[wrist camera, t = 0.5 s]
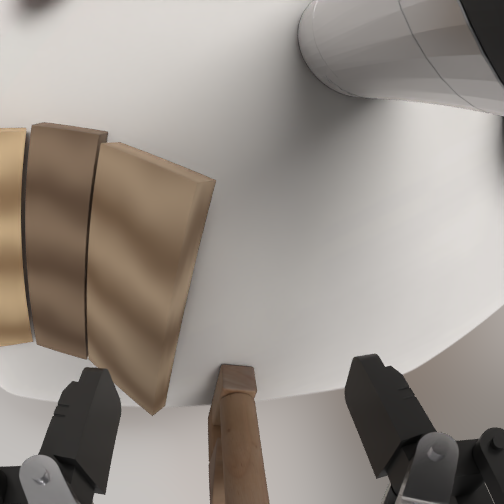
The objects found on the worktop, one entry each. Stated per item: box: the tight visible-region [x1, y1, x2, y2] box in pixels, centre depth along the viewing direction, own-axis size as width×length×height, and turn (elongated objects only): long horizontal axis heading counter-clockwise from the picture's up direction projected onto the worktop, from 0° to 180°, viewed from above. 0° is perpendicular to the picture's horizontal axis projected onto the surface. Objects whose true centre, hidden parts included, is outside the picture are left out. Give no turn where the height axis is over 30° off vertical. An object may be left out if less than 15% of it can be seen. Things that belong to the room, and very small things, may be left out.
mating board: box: [25, 122, 108, 360], centre depth 24 cm, size 22×6×2 cm, turn 163°
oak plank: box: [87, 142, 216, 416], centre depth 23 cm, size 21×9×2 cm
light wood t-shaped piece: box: [208, 364, 269, 504], centre depth 27 cm, size 4×11×18 cm, turn 167°
